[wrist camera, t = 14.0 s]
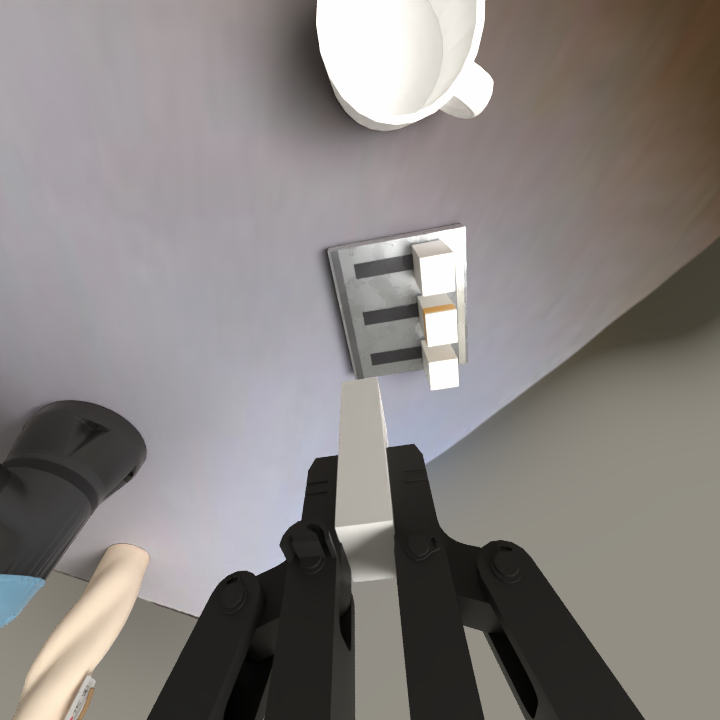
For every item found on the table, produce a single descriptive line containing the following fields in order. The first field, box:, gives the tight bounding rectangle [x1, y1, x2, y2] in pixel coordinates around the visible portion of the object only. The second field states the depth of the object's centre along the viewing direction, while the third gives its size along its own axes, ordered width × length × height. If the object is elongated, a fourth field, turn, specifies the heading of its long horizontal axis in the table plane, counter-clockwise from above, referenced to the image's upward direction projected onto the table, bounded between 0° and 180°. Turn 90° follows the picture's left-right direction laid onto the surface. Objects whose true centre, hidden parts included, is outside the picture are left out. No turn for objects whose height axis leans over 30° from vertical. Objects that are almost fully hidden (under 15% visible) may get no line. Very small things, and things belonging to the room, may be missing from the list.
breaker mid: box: [417, 293, 458, 347], centre depth 37 cm, size 3×4×5 cm
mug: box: [316, 0, 493, 131], centre depth 26 cm, size 13×10×10 cm
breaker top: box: [412, 240, 455, 296], centre depth 34 cm, size 3×4×5 cm
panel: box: [328, 223, 468, 380], centre depth 40 cm, size 14×16×2 cm
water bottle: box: [12, 544, 150, 720], centre depth 54 cm, size 10×9×28 cm
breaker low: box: [421, 340, 459, 390], centre depth 39 cm, size 3×4×5 cm
